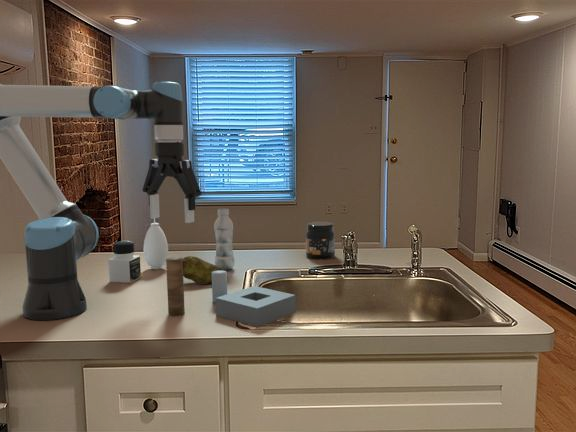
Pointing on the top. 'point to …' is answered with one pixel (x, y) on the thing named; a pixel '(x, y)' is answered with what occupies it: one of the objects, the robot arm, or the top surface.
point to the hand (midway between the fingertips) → (171, 220)
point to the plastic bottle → (224, 240)
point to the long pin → (175, 286)
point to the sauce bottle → (155, 247)
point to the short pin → (219, 284)
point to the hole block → (255, 305)
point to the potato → (198, 270)
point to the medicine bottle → (124, 263)
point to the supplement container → (320, 240)
